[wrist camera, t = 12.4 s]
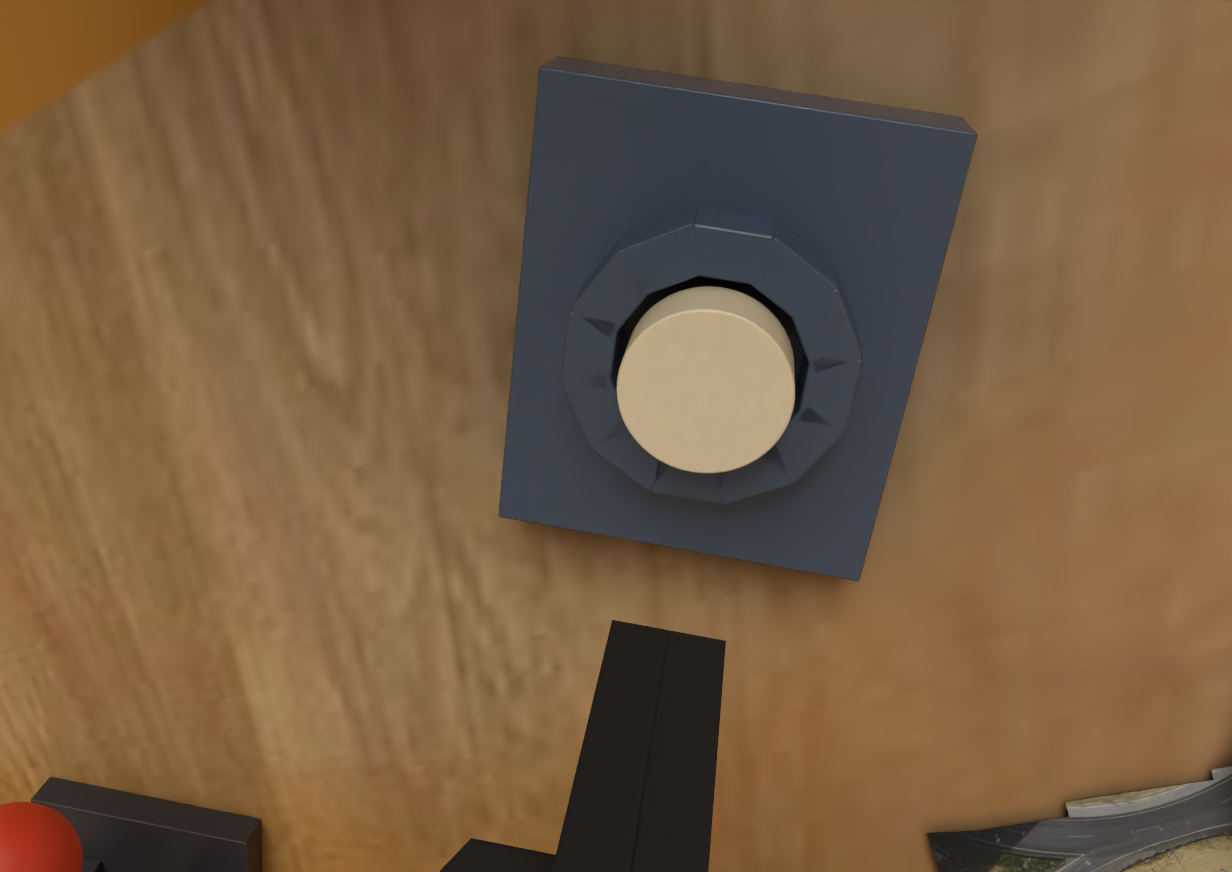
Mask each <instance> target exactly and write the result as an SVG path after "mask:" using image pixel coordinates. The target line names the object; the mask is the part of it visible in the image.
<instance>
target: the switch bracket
mask: <svg viewBox="0 0 1232 872" xmlns="http://www.w3.org/2000/svg"><path fill="white" fill-rule="evenodd" d="M31 803H38V804H41V805H45V806H47V807H50V808H52V809H54V810H56V811H57V812H59V813H60V814H62V815H63V816H64V817H65V818H66V819H67V820H68V821H69V822H70V823H71V825H72V826H73V827H74V829H75V831H76V832H77V834H78V837H79V839H80V843H81V847H82V854H83V862H82V870H81V872H261V824H260V819H257V818H252V817H247V816H242V815H237V814H232V813H227V812H222V811H217V810H212V809H207V808H202V807H197V806H192V805H187V804H182V803H177V802H172V801H167V800H162V799H157V798H152V797H147V796H142V795H137V794H132V793H127V792H122V791H117V790H112V789H107V788H102V787H97V786H93V785H88V784H83V783H78V782H73V781H68V780H63V779H58V778H53V777H50V778H49V779H48V780H47V781H46V783H45V784H44V785H43V786H42V787H41V788H40V790H39V791H38V792H37V793H36V794H35V795H34V797H33V798H32V799H31Z"/></svg>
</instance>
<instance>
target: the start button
mask: <svg viewBox="0 0 1232 872" xmlns="http://www.w3.org/2000/svg"><path fill="white" fill-rule="evenodd" d="M616 390H617V401H618V406H619V410H620V413H621V416H622V419H623V421H624V423H625V425H626V427H627V429H628V430H629V432H630V433H631V435H632V436H633V438H634V439H635V440H636V441H637V442H638V443H639V444H640V446H641V447H642V448H643V449H645V450H646V451H647V452H648V453H649V454H651V455H652V456H654V457H655V458H657V459H658V460H660V461H662V462H663V463H665V464H667V465H669V466H672V467H675V468H678V469H681V470H685V471H689V472H696V473H720V472H726V471H730V470H734V469H737V468H740V467H743V466H745V465H747V464H749V463H751V462H753V461H755V460H757V459H758V458H760V457H761V456H762V455H764V454H765V453H766V452H767V451H769V450H770V449H771V448H772V447H773V446H774V445H775V444H776V442H777V441H778V440H779V439H780V438H781V436H782V434H783V433H784V431H785V430H786V428H787V426H788V423H789V421H790V419H791V415H792V412H793V408H794V401H795V371H794V356H793V350H792V346H791V343H790V340H789V338H788V335H787V333H786V331H785V329H784V328H783V326H782V325H781V323H780V321H779V320H778V319H777V318H776V317H775V315H774V314H773V313H772V312H771V311H770V310H769V309H768V308H766V307H765V306H764V305H763V304H761V303H760V302H759V301H757V300H756V299H754V298H752V297H750V296H748V295H746V294H744V293H741V292H739V291H736V290H732V289H728V288H724V287H714V286H702V287H694V288H688V289H685V290H681V291H678V292H676V293H673V294H671V295H669V296H667V297H665V298H664V299H662V300H660V301H659V302H657V303H656V304H655V305H654V306H652V307H651V308H650V309H649V310H648V311H647V312H646V313H645V314H644V315H643V316H642V318H641V319H640V321H639V322H638V323H637V325H636V327H635V329H634V330H633V332H632V334H631V337H630V340H629V343H628V346H627V348H626V351H625V354H624V357H623V359H622V362H621V365H620V368H619V372H618V377H617V389H616Z"/></svg>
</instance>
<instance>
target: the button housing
mask: <svg viewBox="0 0 1232 872" xmlns="http://www.w3.org/2000/svg"><path fill="white" fill-rule="evenodd" d="M976 139H977V133H976V132H975V130H974V129H973V128H972V127H971V126H970V125H969V124H968V123H967V122H966V121H965V120H964V118H962V117H957V116H951V115H944V114H937V113H931V112H924V111H917V110H911V109H904V108H897V107H891V106H884V105H878V104H871V103H864V102H858V101H851V100H844V99H838V98H831V97H825V96H818V95H811V94H805V93H798V92H791V91H785V90H778V89H771V88H765V87H758V86H752V85H745V84H738V83H732V82H725V81H718V80H712V79H705V78H699V77H692V76H685V75H679V74H672V73H665V72H659V71H652V70H645V69H639V68H632V67H626V66H619V65H612V64H606V63H599V62H592V61H586V60H579V59H572V58H566V57H559V56H558V57H556V58H554V59H552V60H551V61H549V62H548V63H546V64H544V65H543V66H541V67H540V68H539V77H538V88H537V99H536V110H535V121H534V132H533V143H532V154H531V165H530V176H529V187H528V198H527V209H526V219H525V230H524V241H523V252H522V263H521V274H520V285H519V296H518V307H517V318H516V329H515V340H514V351H513V362H512V372H511V383H510V394H509V405H508V416H507V427H506V438H505V449H504V460H503V471H502V482H501V493H500V504H499V514H498V515H499V517H504V518H509V519H515V520H520V521H526V522H531V523H537V524H543V525H548V526H554V527H559V528H565V529H570V530H576V531H581V532H587V533H593V534H598V535H604V536H609V537H615V538H620V539H626V540H632V541H637V542H643V543H648V544H654V545H659V546H665V547H671V548H676V549H682V550H687V551H693V552H698V553H704V554H710V555H715V556H721V557H726V558H732V559H737V560H743V561H748V562H754V563H760V564H765V565H771V566H776V567H782V568H787V569H793V570H799V571H804V572H810V573H815V574H821V575H826V576H832V577H838V578H843V579H849V580H854V581H859V580H860V576H861V572H862V569H863V565H864V561H865V557H866V554H867V550H868V546H869V542H870V539H871V535H872V531H873V527H874V523H875V520H876V516H877V512H878V508H879V505H880V501H881V497H882V493H883V489H884V486H885V482H886V478H887V474H888V471H889V467H890V463H891V459H892V456H893V452H894V448H895V444H896V440H897V437H898V433H899V429H900V425H901V422H902V418H903V414H904V410H905V406H906V403H907V399H908V395H909V391H910V388H911V384H912V380H913V376H914V373H915V369H916V365H917V361H918V357H919V354H920V350H921V346H922V342H923V339H924V335H925V331H926V327H927V323H928V320H929V316H930V312H931V308H932V305H933V301H934V297H935V293H936V290H937V286H938V282H939V278H940V274H941V271H942V267H943V263H944V259H945V256H946V252H947V248H948V244H949V240H950V237H951V233H952V229H953V225H954V222H955V218H956V214H957V210H958V206H959V203H960V199H961V195H962V191H963V188H964V184H965V180H966V176H967V173H968V169H969V165H970V161H971V157H972V154H973V150H974V146H975V142H976ZM702 286H714V287H724V288H728V289H732V290H736V291H739V292H741V293H744V294H746V295H748V296H750V297H752V298H754V299H756V300H757V301H759V302H760V303H761V304H763V305H764V306H765V307H766V308H768V309H769V310H770V311H771V312H772V313H773V314H774V315H775V317H776V318H777V319H778V320H779V321H780V323H781V325H782V326H783V328H784V329H785V331H786V333H787V335H788V338H789V340H790V343H791V346H792V350H793V356H794V371H795V401H794V408H793V412H792V415H791V419H790V421H789V423H788V426H787V428H786V430H785V431H784V433H783V434H782V436H781V438H780V439H779V440H778V441H777V442H776V444H775V445H774V446H773V447H772V448H771V449H770V450H769V451H767V452H766V453H765V454H764V455H762V456H761V457H760V458H758V459H757V460H755V461H753V462H751V463H749V464H747V465H745V466H743V467H740V468H737V469H734V470H730V471H726V472H720V473H696V472H689V471H685V470H681V469H678V468H675V467H672V466H669V465H667V464H665V463H663V462H662V461H660V460H658V459H657V458H655V457H654V456H652V455H651V454H649V453H648V452H647V451H646V450H645V449H643V448H642V447H641V446H640V444H639V443H638V442H637V441H636V440H635V439H634V438H633V436H632V435H631V433H630V432H629V430H628V429H627V427H626V425H625V423H624V421H623V419H622V416H621V413H620V410H619V406H618V401H617V390H616V389H617V377H618V372H619V368H620V365H621V362H622V359H623V357H624V354H625V351H626V348H627V346H628V343H629V340H630V337H631V334H632V332H633V330H634V329H635V327H636V325H637V323H638V322H639V321H640V319H641V318H642V316H643V315H644V314H645V313H646V312H647V311H648V310H649V309H650V308H651V307H652V306H654V305H655V304H656V303H657V302H659V301H660V300H662V299H664V298H665V297H667V296H669V295H671V294H673V293H676V292H678V291H681V290H685V289H688V288H694V287H702Z"/></svg>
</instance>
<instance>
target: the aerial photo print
mask: <svg viewBox="0 0 1232 872" xmlns="http://www.w3.org/2000/svg"><path fill="white" fill-rule="evenodd" d="M1212 775H1213V780H1209V781H1203V782H1195V783H1189V784H1181V785H1174V786H1168V787H1162V788H1155V789H1148V790H1141V791H1134V792H1128V793H1121V794H1115V795H1108V796H1101V797H1094V798H1088V799H1081V800H1075V801H1069V802H1065V803H1066V806H1067V810H1068V814H1069V817H1063V818H1057V819H1050V820H1044V821H1038V822H1031V823H1024V824H1018V825H1013V826H1006V827H999V828H993V829H987V830H980V831H967V832H966V831H961V832H940V833H927V836H928V838H929V841H930V844H931V848H932V851H933V854H934V857H935V860H936V864H937V866H938V869H939V872H1232V766H1230V767H1224V768H1219V769H1212Z"/></svg>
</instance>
